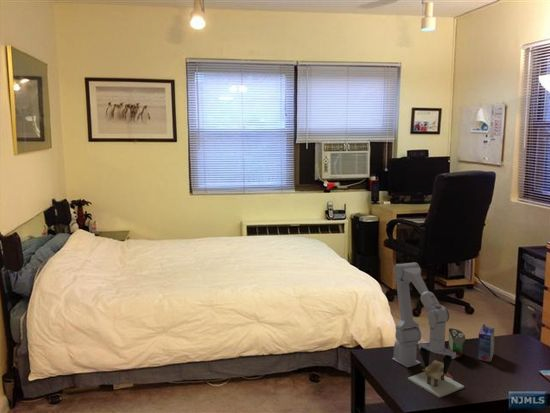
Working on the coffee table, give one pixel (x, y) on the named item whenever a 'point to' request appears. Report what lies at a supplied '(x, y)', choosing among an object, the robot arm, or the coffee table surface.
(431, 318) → the robot arm
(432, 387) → the blue-grey board
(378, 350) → the coffee table surface
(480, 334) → the ink cartridge box
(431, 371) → the beige cardboard carton
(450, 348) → the food container
